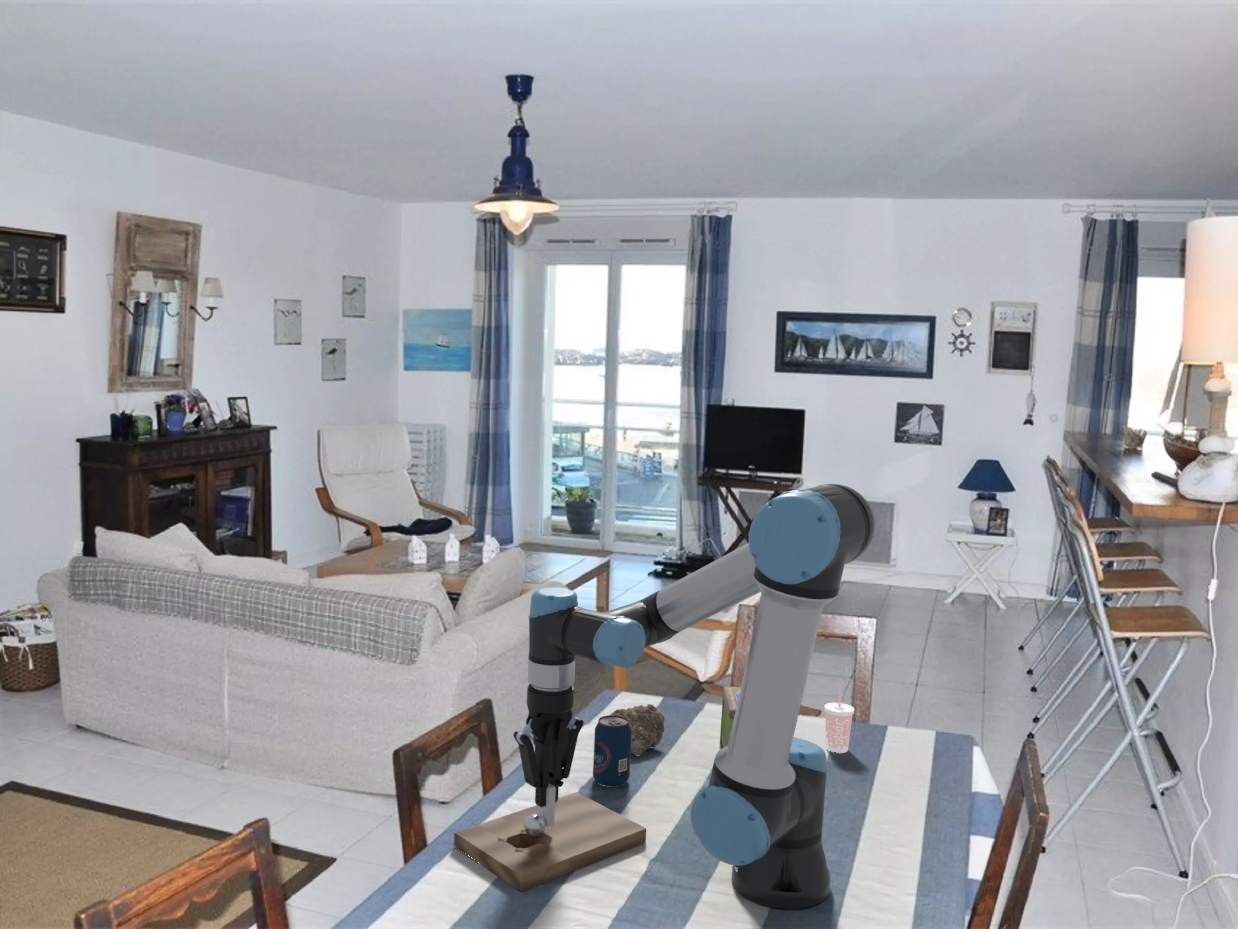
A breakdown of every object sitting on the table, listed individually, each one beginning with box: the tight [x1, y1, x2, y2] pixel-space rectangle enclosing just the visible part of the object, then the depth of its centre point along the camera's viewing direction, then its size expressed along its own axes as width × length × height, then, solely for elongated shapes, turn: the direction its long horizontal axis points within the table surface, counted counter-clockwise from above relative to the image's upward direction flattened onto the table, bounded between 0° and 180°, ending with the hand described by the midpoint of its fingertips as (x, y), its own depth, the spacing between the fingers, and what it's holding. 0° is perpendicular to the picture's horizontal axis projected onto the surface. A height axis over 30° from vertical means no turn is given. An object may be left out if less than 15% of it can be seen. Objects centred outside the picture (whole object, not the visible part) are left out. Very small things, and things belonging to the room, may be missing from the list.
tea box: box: [718, 686, 741, 751], centre depth 212 cm, size 15×10×15 cm
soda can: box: [592, 714, 632, 788], centre depth 204 cm, size 7×7×12 cm
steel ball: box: [524, 814, 546, 837], centre depth 176 cm, size 4×4×4 cm
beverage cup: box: [823, 683, 855, 754], centre depth 225 cm, size 6×6×14 cm
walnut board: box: [453, 791, 647, 893], centre depth 178 cm, size 18×26×2 cm
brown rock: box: [609, 703, 665, 755], centre depth 222 cm, size 14×9×10 cm, turn 123°
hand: (545, 822), depth 178 cm, fingers closed
